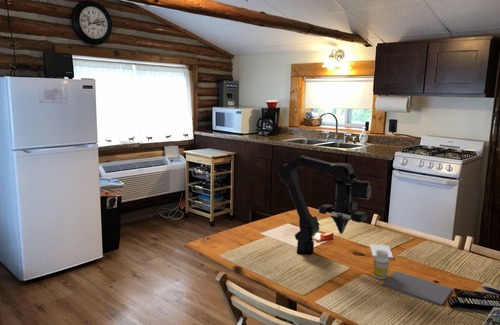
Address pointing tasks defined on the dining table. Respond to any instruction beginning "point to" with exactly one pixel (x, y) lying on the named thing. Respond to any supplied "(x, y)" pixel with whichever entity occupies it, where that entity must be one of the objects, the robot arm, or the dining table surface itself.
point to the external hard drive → (381, 247)
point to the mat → (418, 288)
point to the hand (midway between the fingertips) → (341, 233)
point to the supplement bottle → (381, 264)
